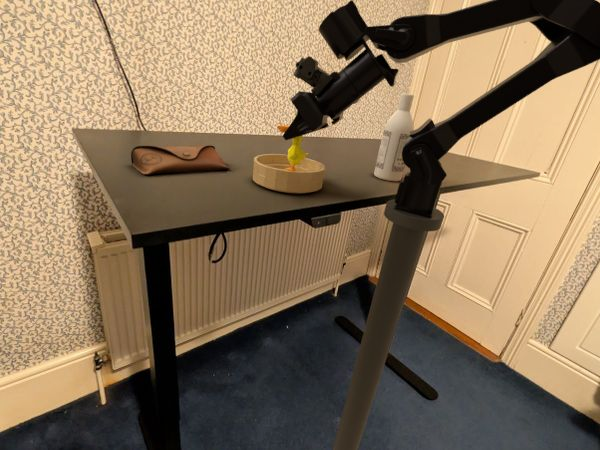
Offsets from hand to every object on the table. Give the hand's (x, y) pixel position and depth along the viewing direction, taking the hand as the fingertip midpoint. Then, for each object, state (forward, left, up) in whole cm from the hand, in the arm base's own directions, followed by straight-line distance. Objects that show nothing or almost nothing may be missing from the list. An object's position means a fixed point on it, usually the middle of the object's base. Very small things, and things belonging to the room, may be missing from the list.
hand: (286, 137), depth 63 cm
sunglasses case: (+19, +8, -9) cm, 23 cm away
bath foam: (-16, -26, -9) cm, 32 cm away
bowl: (-1, 0, -9) cm, 9 cm away
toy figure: (-1, 0, -7) cm, 7 cm away
